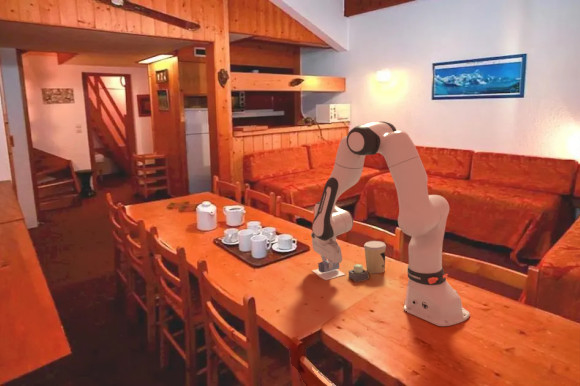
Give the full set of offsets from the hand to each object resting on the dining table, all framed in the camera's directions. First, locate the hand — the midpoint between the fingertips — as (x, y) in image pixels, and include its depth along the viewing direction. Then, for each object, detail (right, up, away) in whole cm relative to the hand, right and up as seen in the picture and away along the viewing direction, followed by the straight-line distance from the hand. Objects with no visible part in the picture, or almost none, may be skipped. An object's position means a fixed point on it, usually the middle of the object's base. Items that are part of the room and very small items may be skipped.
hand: (327, 266), depth 177 cm
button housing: (+12, -4, -7) cm, 15 cm away
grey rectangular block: (+1, -2, +1) cm, 2 cm away
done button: (+12, -2, -7) cm, 15 cm away
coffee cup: (+21, -2, 0) cm, 21 cm away
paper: (0, -3, +1) cm, 3 cm away
